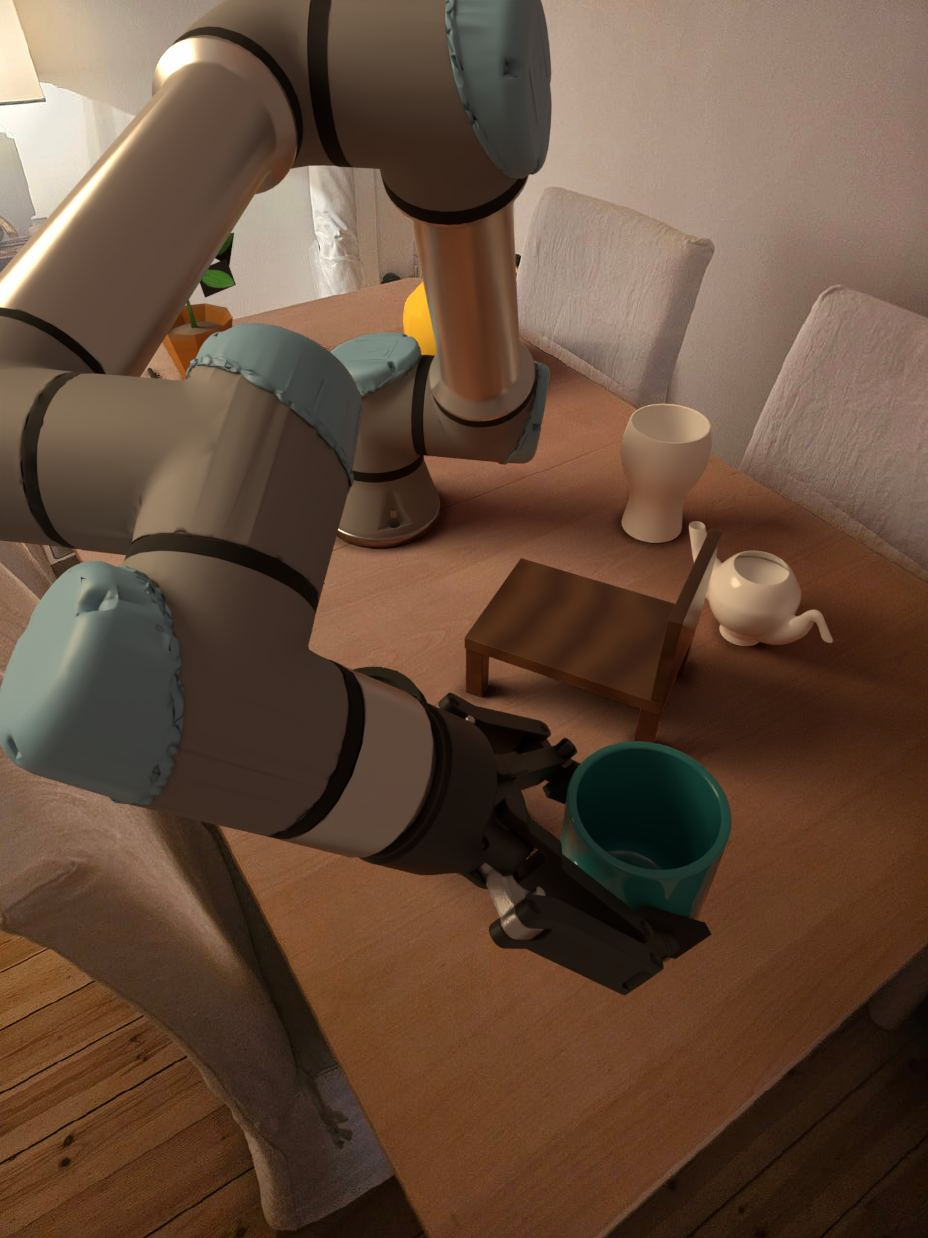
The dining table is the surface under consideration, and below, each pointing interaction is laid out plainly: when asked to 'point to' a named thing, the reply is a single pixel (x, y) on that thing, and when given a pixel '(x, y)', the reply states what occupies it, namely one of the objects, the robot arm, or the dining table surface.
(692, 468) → the cup
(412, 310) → the vase
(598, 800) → the cup
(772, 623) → the teapot
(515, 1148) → the dining table surface
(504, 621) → the wooden toy chair
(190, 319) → the potted plant
